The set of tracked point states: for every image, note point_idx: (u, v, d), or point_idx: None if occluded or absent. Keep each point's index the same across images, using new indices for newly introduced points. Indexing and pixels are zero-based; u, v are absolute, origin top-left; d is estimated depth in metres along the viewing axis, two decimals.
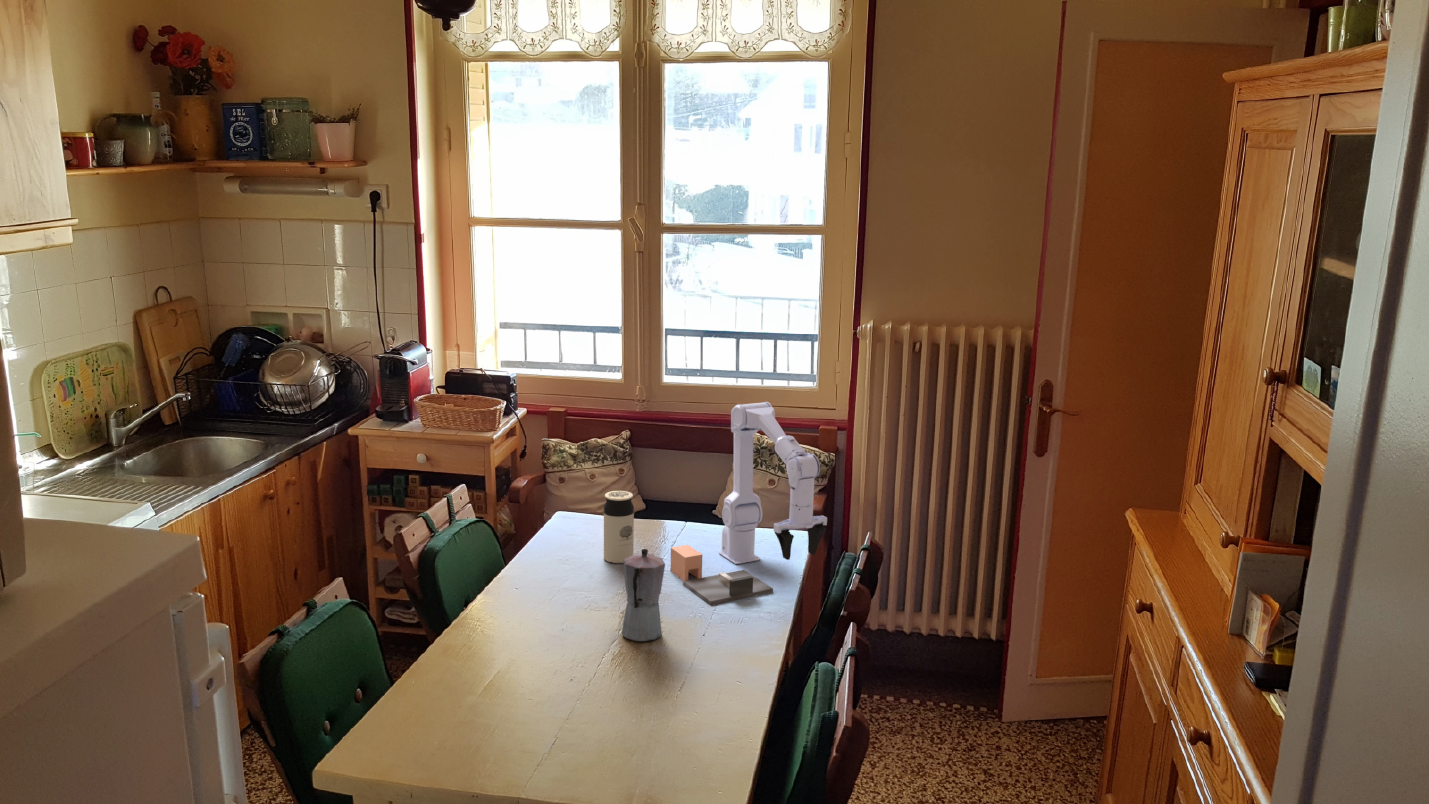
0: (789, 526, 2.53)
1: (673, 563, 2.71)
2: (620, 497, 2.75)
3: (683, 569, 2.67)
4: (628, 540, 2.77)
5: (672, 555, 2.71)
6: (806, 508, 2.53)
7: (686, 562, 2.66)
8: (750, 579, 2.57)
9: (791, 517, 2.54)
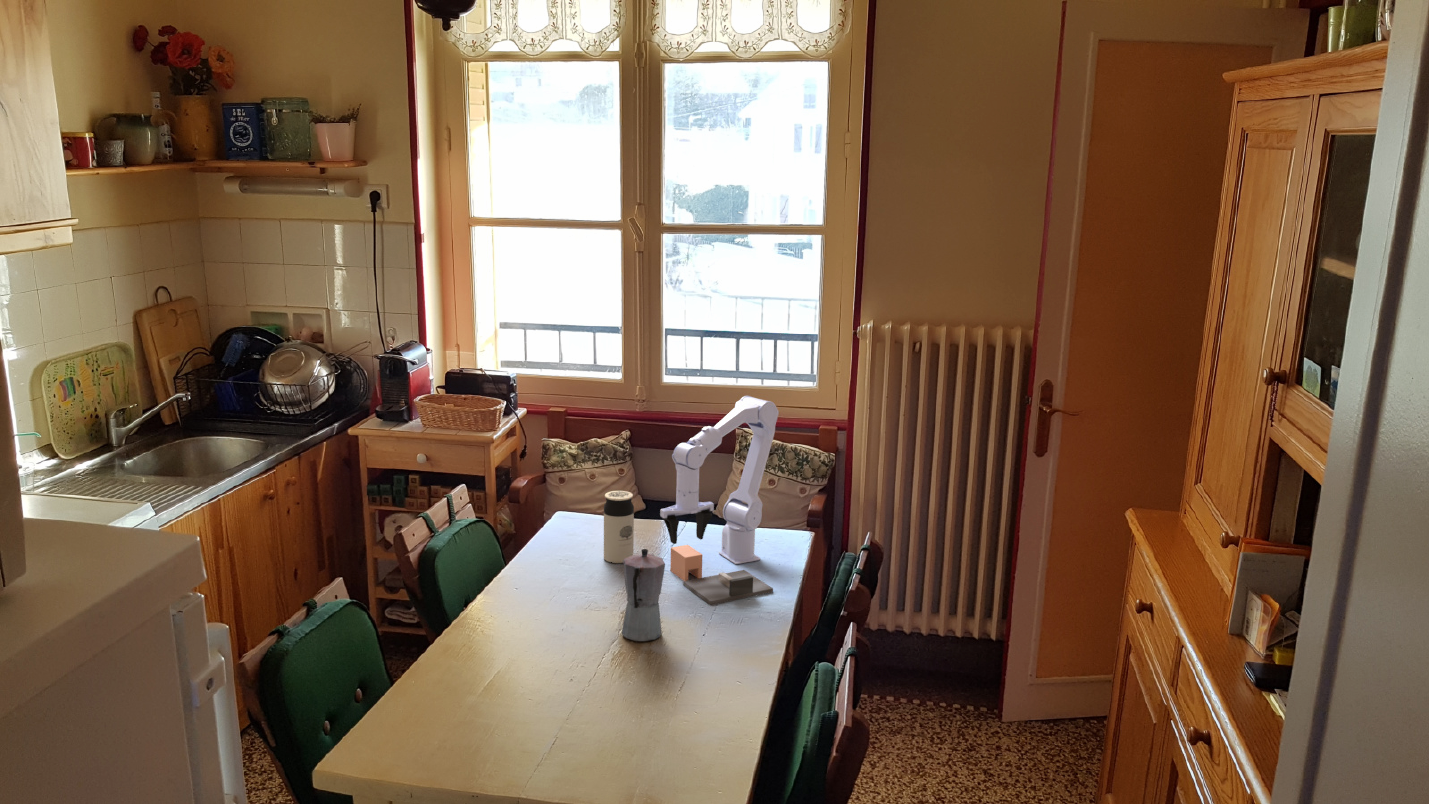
0: (675, 511, 2.64)
1: (673, 563, 2.71)
2: (620, 497, 2.75)
3: (683, 569, 2.67)
4: (628, 540, 2.77)
5: (672, 555, 2.71)
6: (691, 494, 2.64)
7: (686, 562, 2.66)
8: (750, 579, 2.57)
9: (677, 503, 2.66)
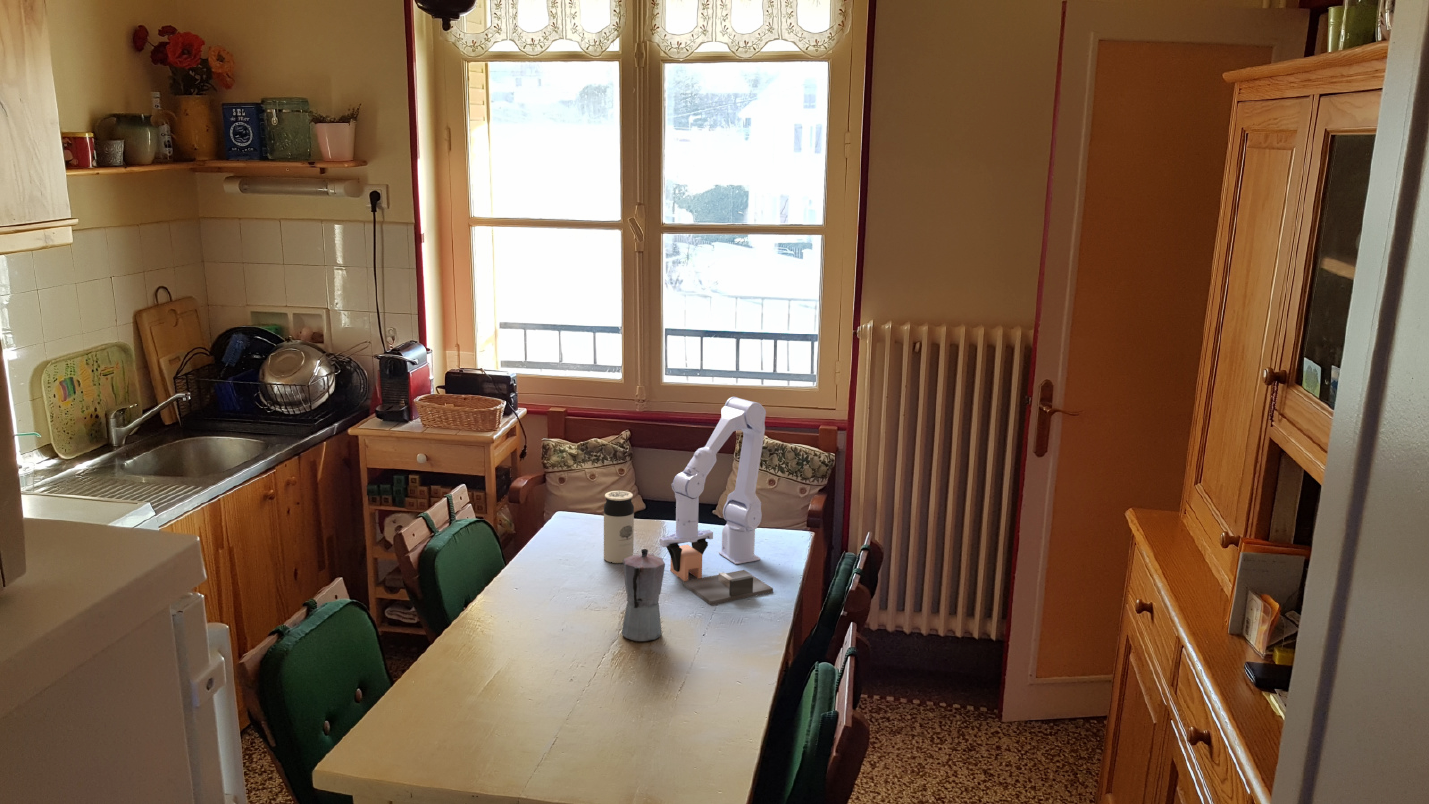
0: (674, 540, 2.65)
1: None
2: (620, 497, 2.75)
3: (683, 569, 2.67)
4: (628, 540, 2.77)
5: None
6: (690, 523, 2.65)
7: (686, 562, 2.66)
8: (750, 579, 2.57)
9: (677, 532, 2.67)
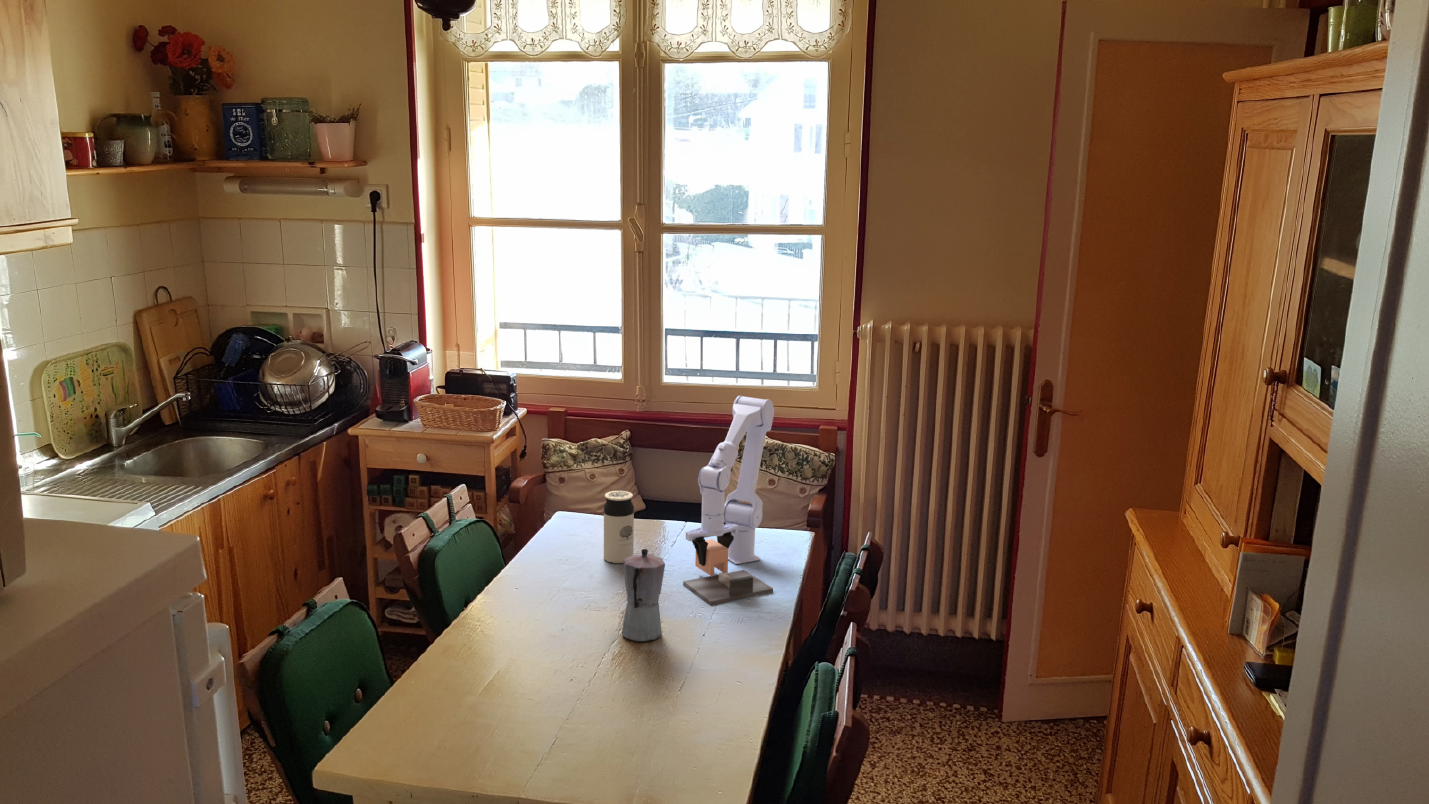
0: (700, 534, 2.64)
1: None
2: (620, 497, 2.75)
3: (709, 563, 2.65)
4: (628, 540, 2.77)
5: None
6: (716, 517, 2.64)
7: (712, 556, 2.64)
8: (750, 579, 2.57)
9: (703, 525, 2.65)
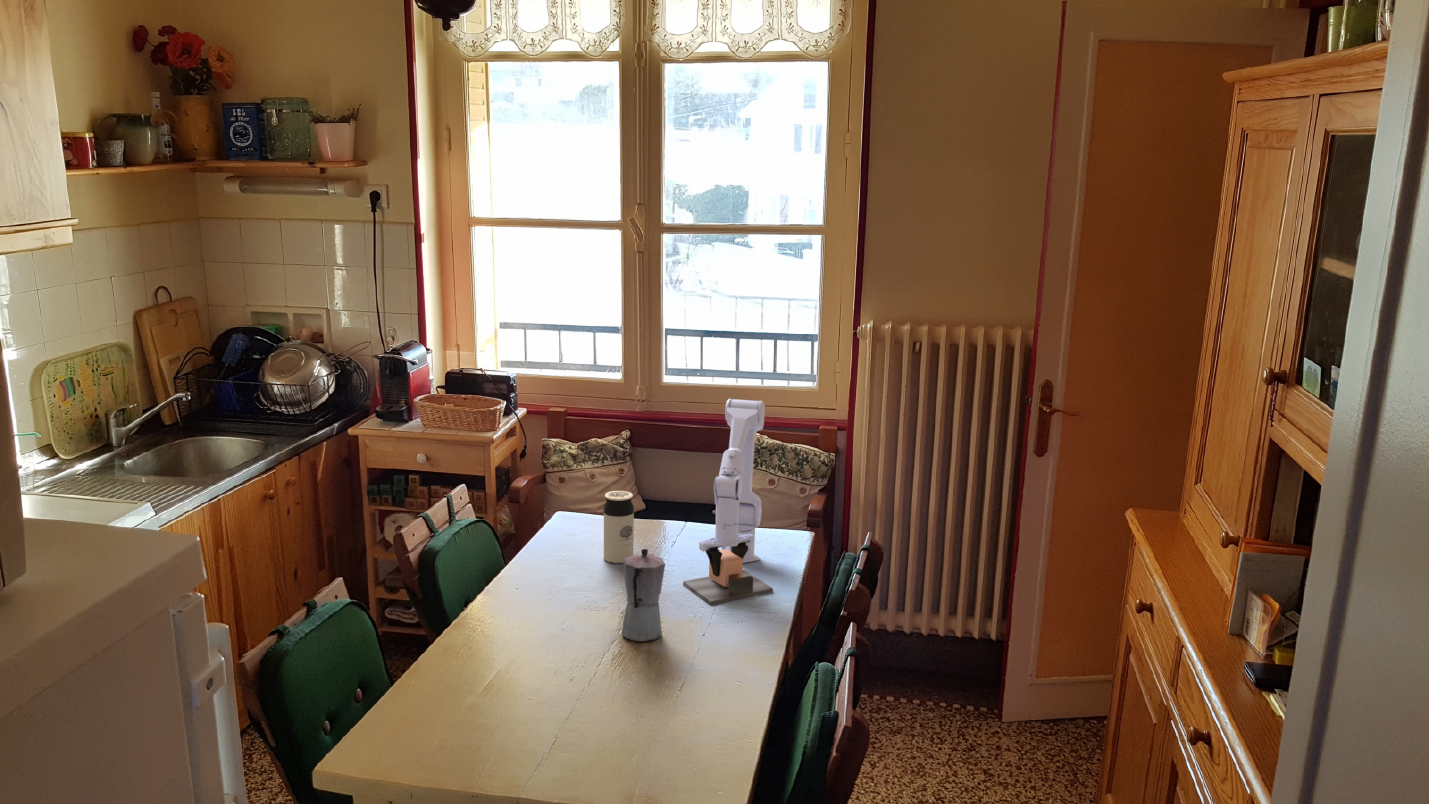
0: (714, 544, 2.57)
1: None
2: (620, 497, 2.75)
3: (723, 574, 2.59)
4: (628, 540, 2.77)
5: None
6: (731, 527, 2.57)
7: (726, 567, 2.58)
8: (750, 579, 2.57)
9: (717, 535, 2.59)
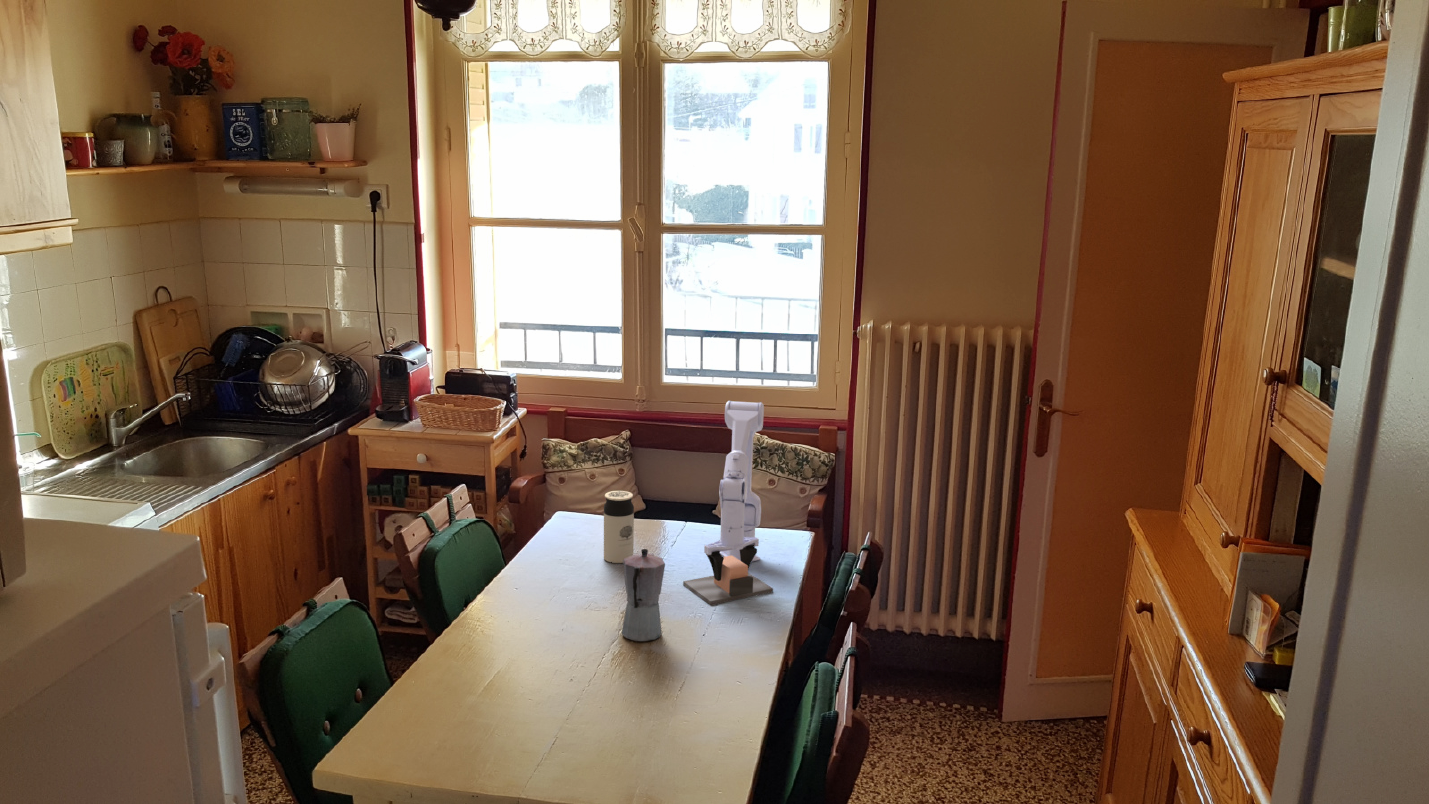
0: (719, 548, 2.55)
1: None
2: (620, 497, 2.75)
3: (728, 581, 2.57)
4: (628, 540, 2.77)
5: None
6: (736, 530, 2.55)
7: (731, 574, 2.56)
8: (750, 579, 2.57)
9: (722, 539, 2.57)
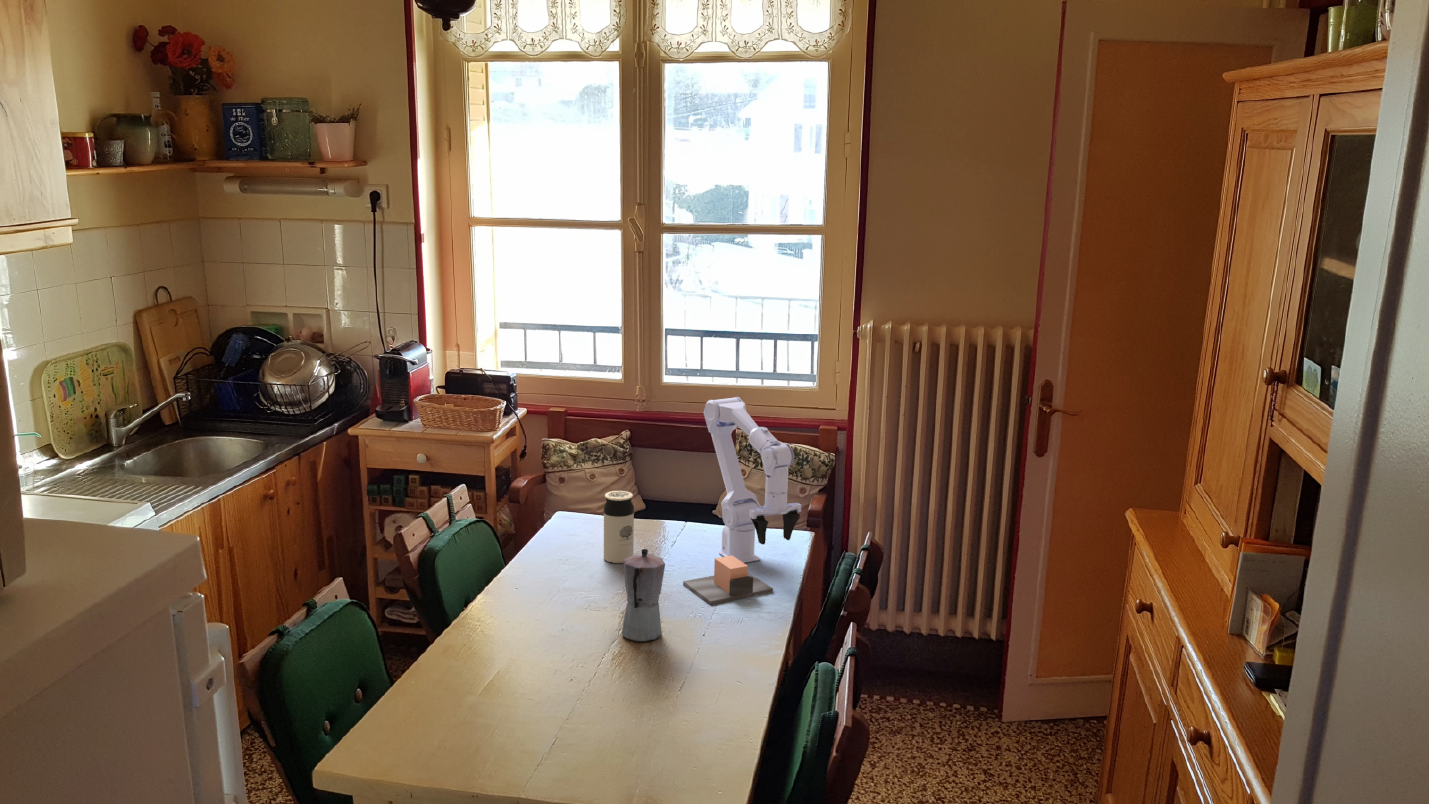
0: (764, 512, 2.65)
1: (717, 574, 2.62)
2: (620, 497, 2.75)
3: (728, 581, 2.57)
4: (628, 540, 2.77)
5: (716, 566, 2.62)
6: (780, 495, 2.65)
7: (731, 574, 2.56)
8: (750, 579, 2.57)
9: (766, 504, 2.67)
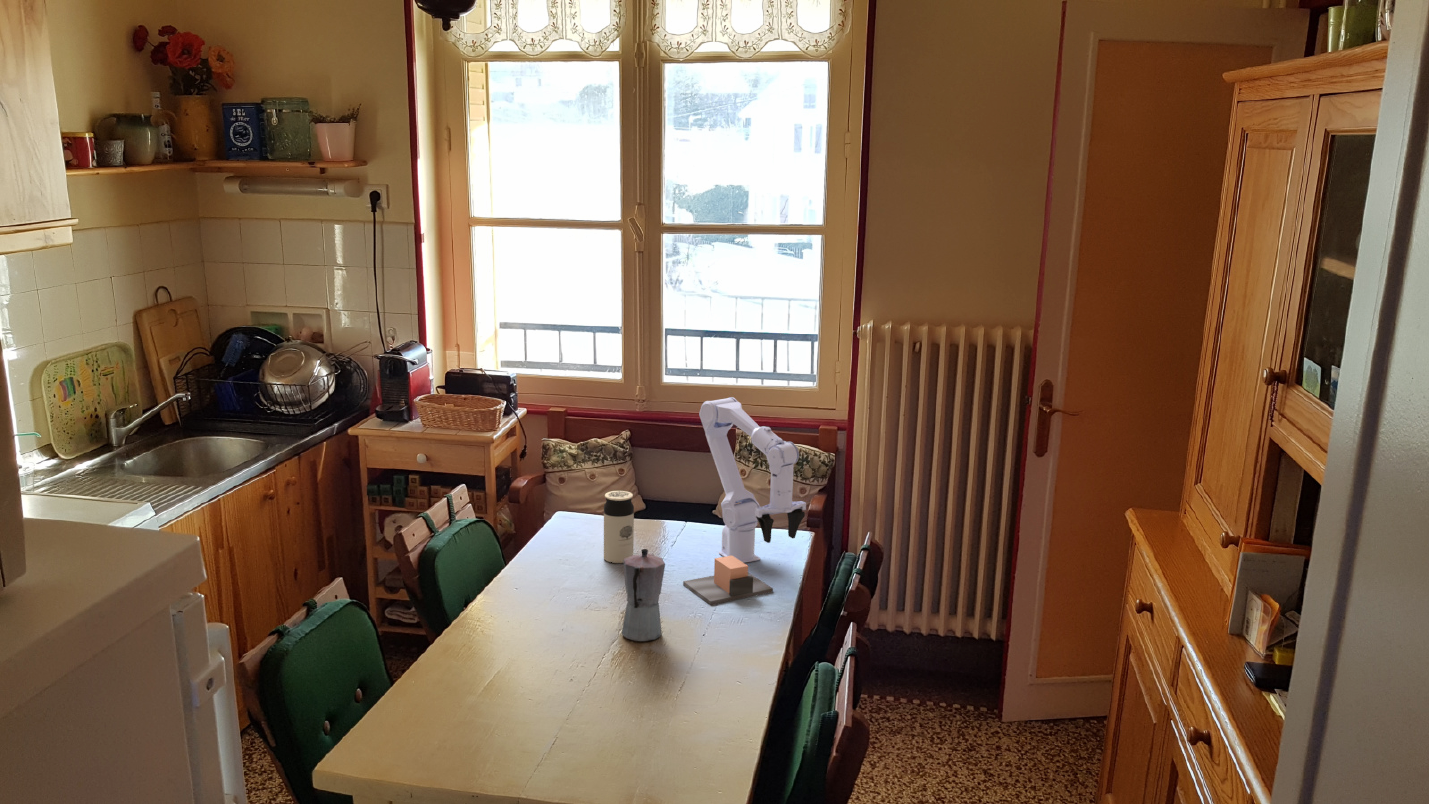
0: (769, 511, 2.66)
1: (717, 574, 2.62)
2: (620, 497, 2.75)
3: (728, 581, 2.57)
4: (628, 540, 2.77)
5: (716, 566, 2.62)
6: (785, 493, 2.66)
7: (731, 574, 2.56)
8: (750, 579, 2.57)
9: (771, 502, 2.68)
